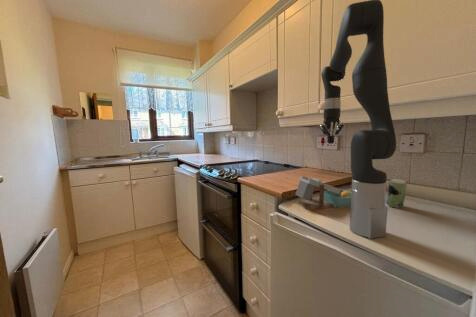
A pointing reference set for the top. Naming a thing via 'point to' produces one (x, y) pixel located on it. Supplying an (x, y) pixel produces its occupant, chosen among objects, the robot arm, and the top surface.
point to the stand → (316, 201)
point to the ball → (345, 194)
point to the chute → (311, 187)
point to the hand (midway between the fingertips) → (330, 143)
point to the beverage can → (396, 193)
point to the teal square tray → (337, 198)
